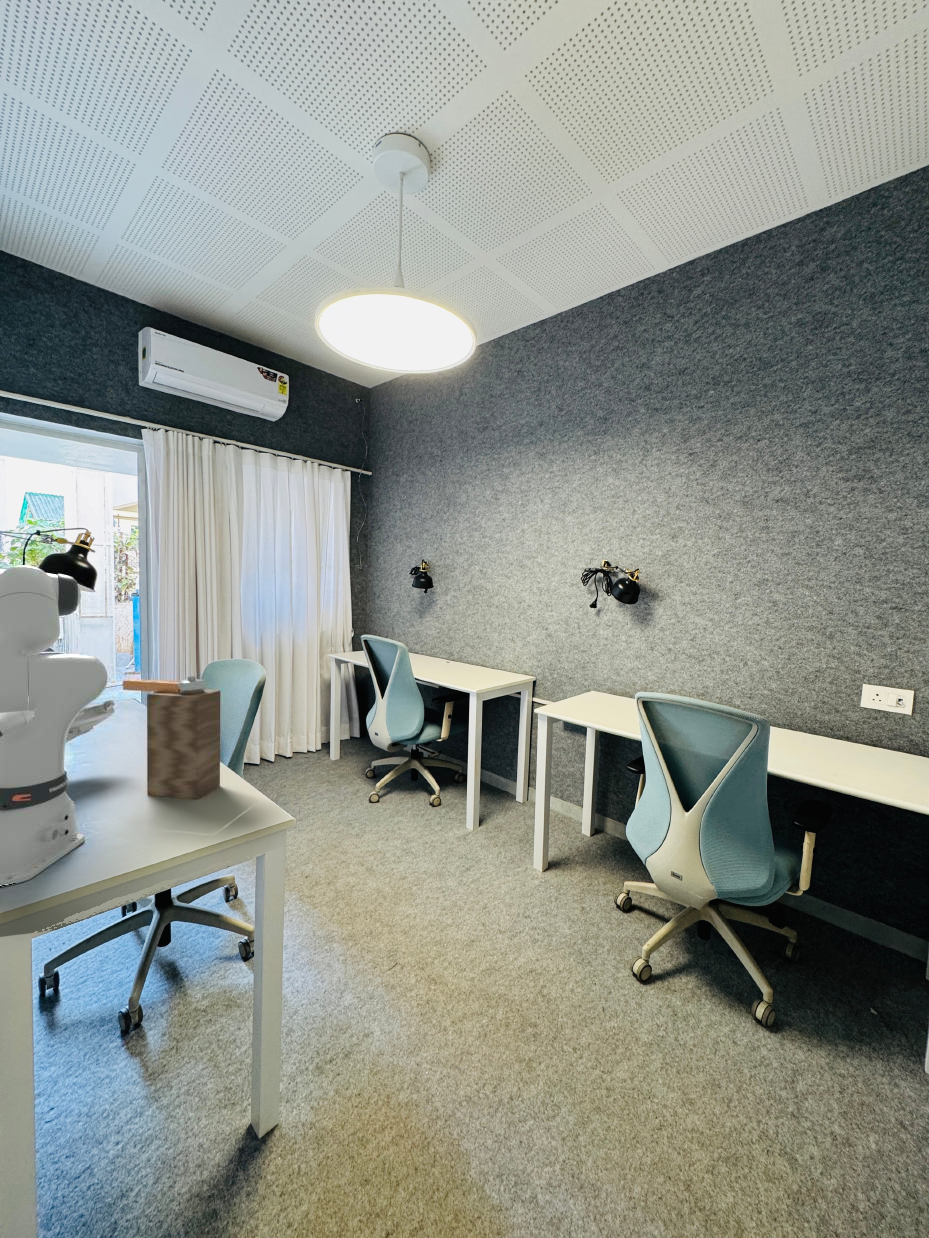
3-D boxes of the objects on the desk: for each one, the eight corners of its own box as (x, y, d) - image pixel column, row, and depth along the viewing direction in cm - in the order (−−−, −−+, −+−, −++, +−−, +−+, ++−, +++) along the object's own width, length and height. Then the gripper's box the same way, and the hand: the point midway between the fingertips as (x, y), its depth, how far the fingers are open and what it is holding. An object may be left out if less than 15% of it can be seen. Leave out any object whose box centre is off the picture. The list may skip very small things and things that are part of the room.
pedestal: (219, 785, 133) (220, 690, 132) (197, 799, 124) (197, 697, 123) (172, 781, 135) (172, 687, 134) (147, 794, 126) (147, 694, 125)
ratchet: (209, 691, 131) (209, 675, 130) (194, 695, 125) (194, 679, 124) (136, 686, 133) (136, 671, 133) (118, 690, 128) (117, 674, 127)
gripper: (12, 728, 124) (54, 704, 122) (85, 710, 144) (122, 689, 142) (23, 751, 124) (65, 726, 122) (95, 729, 144) (132, 708, 142)
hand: (96, 706), depth 132 cm, fingers open, 8 cm apart
